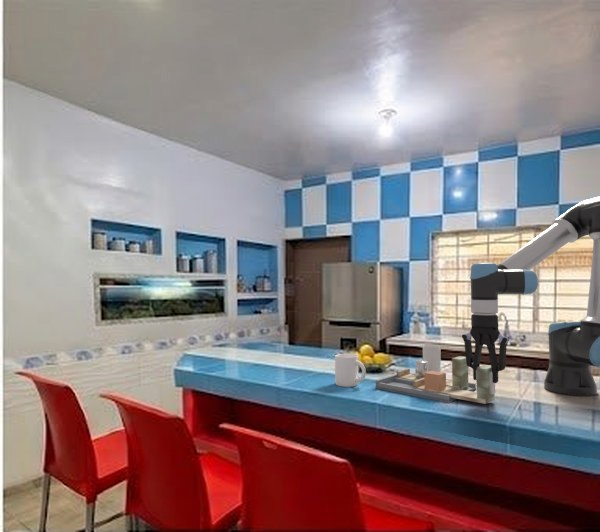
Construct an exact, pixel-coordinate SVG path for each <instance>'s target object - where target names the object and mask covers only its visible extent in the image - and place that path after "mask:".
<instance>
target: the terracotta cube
mask: <svg viewBox="0 0 600 532" xmlns="http://www.w3.org/2000/svg"><path fill="white" fill-rule="evenodd" d="M446 376H447V372H443V371H440V372H438V371H429V372H426V373H424V380H425V389H431V390H436V391H441V390H443V389H445V388H446V379H447V377H446Z"/></svg>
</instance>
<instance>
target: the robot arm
mask: <svg viewBox="0 0 600 532" xmlns="http://www.w3.org/2000/svg"><path fill="white" fill-rule="evenodd" d="M585 236H588V237H590V239H592V241H593V248H592V260H591V268H590V279H589V291H588V299H587V310H586V311H587V312H586V316H585V317H583V318H582V319H580V321H560V322H552V323H550V324H549V325H548V333H547V336H548V354H549V356H548V358H549V361H548V362H549V366H548V369H547V372H546V375H545V376H544V380H543V386H544V389H545V390H547V391H550V392H552V393H557V394H562V395H563V394H564V395H569V396H584V397H585V396H587V397H588V396H594V395H597V394H598V386H597V384H596V381H595V378H594V376H593V373H592V370H591V367H590V366H595V367H597V368H600V196H596V197H593V198H592V197H591V198H588V199H585V200H582V201H580V202H579V203H577V204H575V205H574V206H572V207H571V208H569V209H568V210H567V211H565V212H564V213H563V214H561V215H560V216H558V217H557V218H555V219H554V220H553V222H552V225H551V226H549V227H548V228H547V229H546V230H544V231H542V232H541V233H540V234H538V235H537V236H536V237H534V238H533V239H531V240H530V241H529V242H527V243H526V244H525V245H523V246H522V247H521V248H518V249H517V250H516V251H514V253H512V254H510V255H509V256H508V257H506V258H505V259H503V260H502V261H501V262H500V263H498V264H497V263H495V262H475V263H473V264H472V265H471V266H470V274H469V275H470V277H469V280H470V312H471V313H472V314H470V320H471V326H470V327H471V329H470V331H469V332H467V333H464V334H462V335H461V337H462V339H463V343H464V353H465V357H466V364H467V366H468V368H471V369H472V376H473V377H472V378H473V380H474V381H476V382H475V383H476V389H477V367H480V366H481V357H482V353H483V352H482V351H483V347H484V346H486V349H487V351H488V355H489V356H488V357H489V363H490V366H491V369H492V370H491V371H490V372H489V392H490V394H494V393H495V394H496V384H497V383H499V372H501V371H503V370H505V369H506V359H507V347H508V346H507V345H508V343H509V341H510V337H508V336H505V335H502V334H501V332H500V330H499V316H498V313H499V295H531V294H533V293H535V292H536V290H537V289H538V286H539V283H538V282H539V278H538V275H537V274H536V272H535V271H533V270H532V269H533V268H535V267H536V266H537V265H539V264H540V263H542V262H543V261H545V260H546V259H547V258H549V257H550V256H551V255H553V254H554V253H556V252H557V251H558V250H560V249H562V247H564V246H566V245H567V244H569V243H574V242H576V241H578V240H579V239H581V238H583V237H585ZM472 339H473V340H474V341H475V343H474V344H475V345H474V347H475V348H474V354H473V345H472ZM497 340H498V341H499V343H500V344H499V349H498V350H499V352H498V358H497V352H496V342H497ZM473 355H474V356H473Z"/></svg>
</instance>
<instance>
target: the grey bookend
mask: <svg viewBox="0 0 600 532" xmlns="http://www.w3.org/2000/svg"><path fill="white" fill-rule="evenodd" d="M441 349H442V348H441V345H438V344H422V361H428V372H429V371H438V372H441V361H442V360H441V357H442V356H441V355H442V354H441Z"/></svg>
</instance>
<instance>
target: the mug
mask: <svg viewBox="0 0 600 532" xmlns="http://www.w3.org/2000/svg"><path fill="white" fill-rule="evenodd" d="M359 367H360V369H361V376H360V377H359ZM366 374H367V371H366V367H365V365H364V363H363V362H361V361H360V360H359V355H357V354H356V353H355V354H353V353H338V354H335V355H334V380H335V385H336V386H338V387H343V388H352V387H356V386H358V385H359V383H361V382H363V381H364V380H365V378H366Z"/></svg>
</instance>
